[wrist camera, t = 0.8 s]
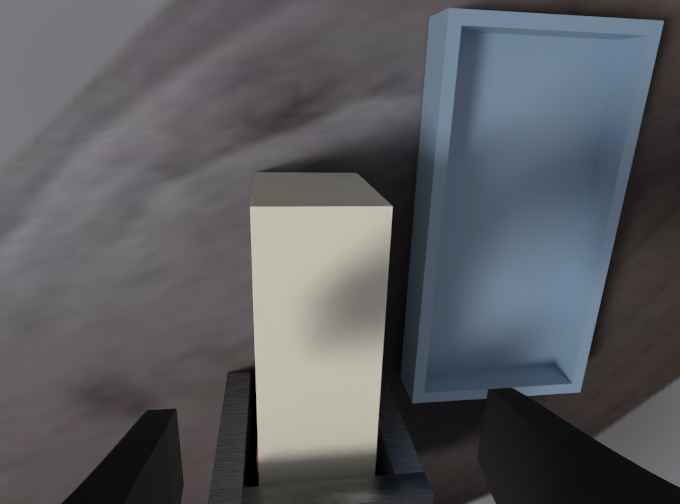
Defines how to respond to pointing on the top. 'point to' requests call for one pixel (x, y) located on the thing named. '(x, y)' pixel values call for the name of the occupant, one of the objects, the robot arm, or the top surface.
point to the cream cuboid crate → (318, 323)
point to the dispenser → (319, 496)
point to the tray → (518, 196)
